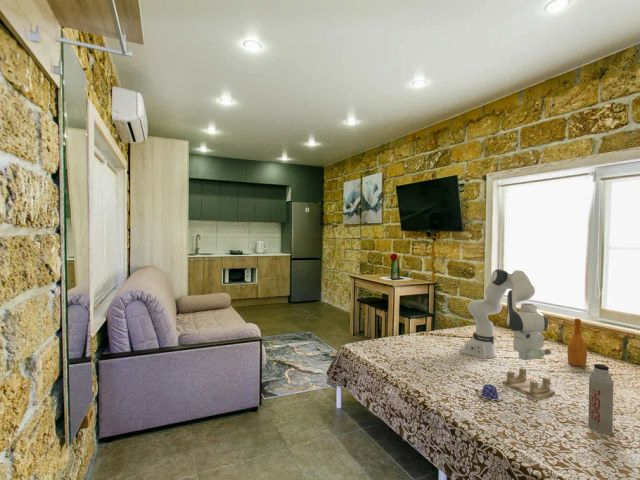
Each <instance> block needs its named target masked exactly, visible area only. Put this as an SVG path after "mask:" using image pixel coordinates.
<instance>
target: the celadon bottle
mask: <svg viewBox="0 0 640 480" xmlns="http://www.w3.org/2000/svg"><path fill="white" fill-rule="evenodd" d="M551 353H552V350H550V349H549V348H546V349H542V348H532V349H529V350H528V351H526V353H525V355H526V356H527V358H526V359H523V358H522V355H521V353H520V352H518V357H519V358H520V359H521V360H522V361H531V360H541V359H543V358H544V356H548V355H551Z"/></svg>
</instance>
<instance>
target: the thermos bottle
mask: <svg viewBox="0 0 640 480" xmlns="http://www.w3.org/2000/svg"><path fill="white" fill-rule="evenodd" d="M609 369H610V368H609V366H607V365H604V364H600V363H594V364H593V370H591V372H590V375H589V376H588V421H587V422H588V425H587V426H588V427H589V428H590V429H591V430H592V429H593V430H592V431H594V430H595V431H594V432H596V431H597V433H600V434H602V433H603V435H612V434H613V427H614V426H613V423H614V422H613V421H614V380H613V379H612V374H610V371H609Z"/></svg>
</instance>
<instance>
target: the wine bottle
mask: <svg viewBox="0 0 640 480" xmlns="http://www.w3.org/2000/svg"><path fill="white" fill-rule="evenodd" d="M573 322H574V330H573V333H572V335H571V337H570V339H569V341H568V344H567V363H569V364H570V365H573V366H576V367H586V365H587V362H588V361H587V357H588V349H587V345H586V341H585V340H584V337H583V334H582V332H581V325H582V320H581V319H580V318H574V321H573Z"/></svg>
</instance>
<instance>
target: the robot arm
mask: <svg viewBox="0 0 640 480" xmlns="http://www.w3.org/2000/svg"><path fill="white" fill-rule="evenodd" d="M507 290H509V291H508V292H507ZM535 292H536V289H535V286H534V283H533V281H532V279H531V277H530V275H529V274H528V273H527V272H526V271H525V270H523V269H516V270H514V271H509V270H505V269H500V268H499V269H495V270H493V271H492V273H491V276H490V281H489V283H488V285H487V286H486V288H485V289H484V295H485V296H486V297H485V298H483V299H474V300H472V301H469V302H468V304H467V311H468V313H469V314H470V315H471V316H472V317H473V319H474V321H475V331H473V333H472V337H471V338H470V339H468V340H466V341H465V343H464V346H462V347H461V348H460V352H461V353H462V354H465V355H469V356H472V357H475V358H476V357H477V358H479V359H486V358H487V359H492V358H495V357H496V356H497V354H496V351H495V333H494V329H495V328H494V323H493V322H492V321H491V320H490V319H489V316H490V315H496V314H499V313H501V312H502V310H503V304H502V301H501V300H502V298H503V297H504V295H505V294H506V293H507V295H506V297H507V298H506V300H507V301H506V307H507V314H506V315H507V316H506V325H507V327H508V328H509V329H510V330H512V331H513V336H514V337H513V344H512V345H513V350H514V351H515V352H518V353H519V352H520V353H521V355H522V358H523V359H526V358H527V356H526V355H525V353H526V351H528V350H529V349H532V348H540V349H542V348H543V347H544V343H545V342H544V336H543V333H542V332H545V331H546V330H547V329H548V328H549V320H548V317H546V315H545V314H543V313H541V312H540V310H539V307H538V305H537V304H535V303H522V304H521V305H520V308H519V310H517V303H521V302H525V301H528V300H530V299H532V297H534V295H535V294H536V293H535Z"/></svg>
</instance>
